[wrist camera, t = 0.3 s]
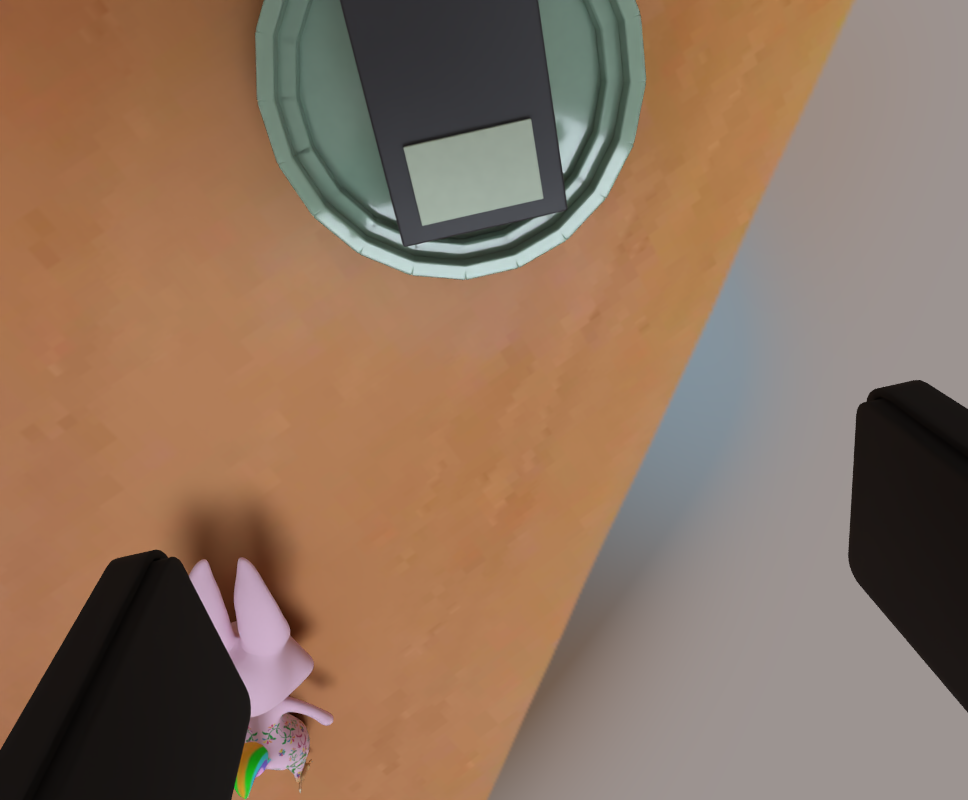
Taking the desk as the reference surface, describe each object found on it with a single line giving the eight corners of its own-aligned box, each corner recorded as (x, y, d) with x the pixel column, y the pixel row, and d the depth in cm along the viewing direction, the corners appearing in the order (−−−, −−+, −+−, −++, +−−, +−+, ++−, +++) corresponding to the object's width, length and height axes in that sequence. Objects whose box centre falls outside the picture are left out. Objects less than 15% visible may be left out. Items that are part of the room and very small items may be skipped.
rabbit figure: (345, 726, 36) (313, 522, 27) (336, 854, 31) (294, 655, 23) (221, 735, 36) (147, 529, 27) (192, 866, 31) (92, 668, 22)
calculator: (338, -34, 20) (326, -48, 17) (509, -73, 20) (527, -94, 17) (403, 225, 23) (403, 249, 20) (550, 192, 23) (570, 212, 20)
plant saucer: (212, -84, 19) (191, -98, 18) (604, -173, 19) (624, -196, 18) (330, 293, 25) (324, 312, 23) (641, 223, 24) (660, 236, 23)
